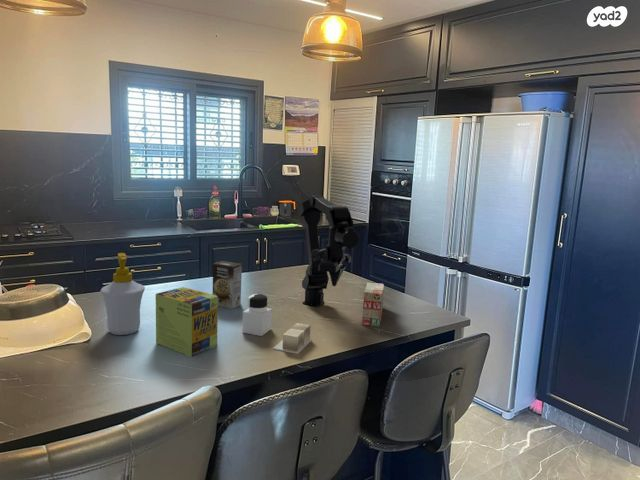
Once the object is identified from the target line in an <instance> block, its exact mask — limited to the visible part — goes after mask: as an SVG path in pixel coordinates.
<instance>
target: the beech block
mask: <svg viewBox="0 0 640 480" xmlns="http://www.w3.org/2000/svg"><path fill="white" fill-rule="evenodd" d="M311 325H312V324H307V323H301V322H297V323H295V324H294V325H292V326H291V327H290V328H289V329H288V330H287V331H285V332H284V333H283V334H282V340H283V349H286V350H291V351H296V352H297V351H298V350H299V349H300V348H301V347H302V346H303V345H304V344H305V343H306V342H307V341H308V340H309V339H310V340H311Z"/></svg>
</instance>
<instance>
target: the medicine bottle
mask: <svg viewBox="0 0 640 480" xmlns="http://www.w3.org/2000/svg"><path fill="white" fill-rule="evenodd" d="M247 300H248V302H247V303H248V304H247V305H248V306H247V309H245V310H243V312H242V333H244V334H250V335H254V336H259V337H260V336H261V337H263V336H264V335H265V334H267V333H268V332H269V331H270V330H272V318H273V317H272V316H273V309H272V308H271V307H270V308H268V297H267V295H265V294H263V293H262V294H261V293H254V294H250V295H249V296H248V299H247Z"/></svg>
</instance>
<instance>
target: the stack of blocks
mask: <svg viewBox="0 0 640 480" xmlns="http://www.w3.org/2000/svg"><path fill="white" fill-rule="evenodd" d="M384 287H385V285H384V283H376V282H366V286H365V288H364V292H363V304H362V316H361V326H362V325H363V326H368V325H369V326H370V327H378V328H380V325H381V321H382V313H383V309H384V307H383V306H384V296H385V294H384V293H385V288H384Z"/></svg>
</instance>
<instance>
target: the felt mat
mask: <svg viewBox="0 0 640 480" xmlns="http://www.w3.org/2000/svg"><path fill="white" fill-rule="evenodd" d="M311 342H312V339H311V338H310V339H309V340H308V341H307V342H306V343H305V344H304V345H303V346H302V347H301V348H300V349H299V350H298V351H297V352H296V351H291V350H286V349H283V339H281V340H280V342H279V343H277V344H276V345H275V346H274V347H272V349H273V350H277V351H281V352H286V353H291V354H296V355H299V353H301V351H302V350H304V349H305V348H306V347H307V346H308V344H310V343H311Z"/></svg>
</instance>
